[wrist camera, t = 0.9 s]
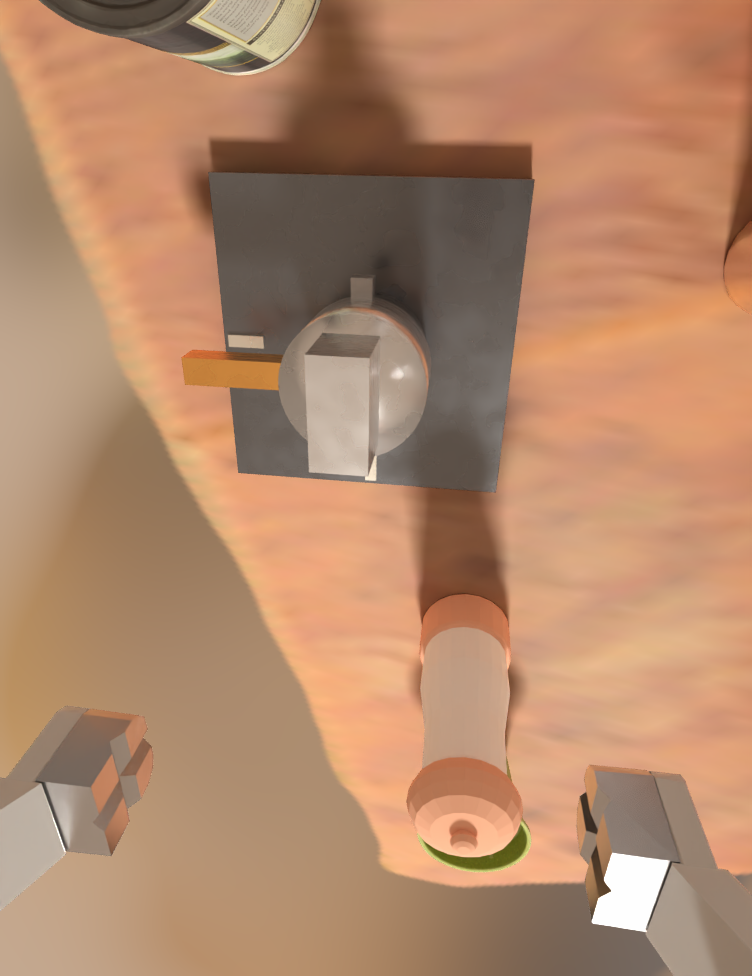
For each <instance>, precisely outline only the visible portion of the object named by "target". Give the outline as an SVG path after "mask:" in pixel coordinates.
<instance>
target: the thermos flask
mask: <svg viewBox="0 0 752 976" xmlns="http://www.w3.org/2000/svg"><path fill="white" fill-rule="evenodd" d="M724 282H725V285H726V289H727V292H728V295H729V296H730V297H731V299H732V300H733V302H734V303H735V305H737V306H738V307H740V308H741V309H742V310H744V311H745V312H747V313H748V314H750V315H752V220H751V221H750V222H749V223H748V224H747V225H746V226H745V227H744V228H743V229H742V231H741V232H740V233H739V234H738V235H737V236H736V238H735V240H734V242H733V244H732V245H731V247H730V249H729V251H728V254H727V258H726V262H725V265H724Z"/></svg>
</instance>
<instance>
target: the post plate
mask: <svg viewBox="0 0 752 976" xmlns="http://www.w3.org/2000/svg"><path fill="white" fill-rule="evenodd" d="M208 174H209V184H210V194H211V204H212V214H213V224H214V234H215V244H216V254H217V264H218V274H219V284H220V294H221V304H222V314H223V324H224V334H225V344H226V352H242V353H260V354H279V355H284V354H285V351H286V349H287V348H288V346H289V345H290V343H291V342H292V340H293V339H294V338H295V337H296V336H297V335H298V334H299V333H300V332H301V330H302V329H303V328H304V327H305V326H306V325H307V324H308V323H309V322H310V321H311V320H312V319H313V318H314V317H315V316H316V315H317V314H318V313H319V312H320V311H321V310H323V309H324V308H325V307H327V306H328V305H330V304H332V303H334V302H336V301H338V300H341V299H344V298H348V297H351V277H352V276H353V275H354V274H370V275H375V297H376V298H380V299H383V300H386V301H388V302H391V303H393V304H395V305H396V306H398V307H400V308H401V309H403V310H404V311H405V312H407V313H408V314H409V315H410V316H411V317H412V318H413V319H414V320H415V322H416V323H417V324H418V325H419V327H420V328H421V330H422V332H423V333H424V336H425V338H426V340H427V343H428V346H429V350H430V355H431V374H430V380H429V386H428V392H427V398H426V404H425V408H424V411H423V414H422V417H421V419H420V421H419V423H418V425H417V426H416V428H415V430H414V431H413V432H412V433H411V435H410V436H409V437H408V438H407V439H406V440H405V441H404V442H403V443H401V444H400V445H399V446H397V447H396V448H394V449H392V450H390V451H388V452H386V453H384V454H381V455H378V456H374V460H373V463H372V466H371V469H370V472H369V476H368V477H366V476H352V475H339V474H326V473H312V472H309V460H308V441H307V440H306V439H305V438H304V437H302V436H301V435H300V434H299V432H298V431H297V430H296V429H295V428H294V426H293V425H292V424H291V422H290V421H289V419H288V417H287V415H286V413H285V411H284V409H283V406H282V403H281V399H280V396H279V390H265V389H248V388H232V387H230V394H231V404H232V414H233V424H234V434H235V444H236V454H237V464H238V473H247V474H260V475H273V476H286V477H300V478H313V479H326V480H339V481H352V482H365V483H379V484H392V485H405V486H418V487H431V488H444V489H458V490H471V491H484V492H496V486H497V478H498V470H499V462H500V454H501V446H502V437H503V429H504V421H505V413H506V405H507V397H508V389H509V381H510V373H511V365H512V357H513V349H514V341H515V333H516V325H517V316H518V308H519V300H520V292H521V284H522V276H523V268H524V260H525V252H526V244H527V236H528V228H529V220H530V212H531V203H532V195H533V187H534V179H516V178H472V177H427V176H382V175H338V174H293V173H248V172H208Z"/></svg>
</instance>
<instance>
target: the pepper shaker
mask: <svg viewBox="0 0 752 976" xmlns="http://www.w3.org/2000/svg"><path fill="white" fill-rule="evenodd" d="M419 654H420V659H421V663H422V665H423V669H422V677H421V685H420V692H421V701H422V710H423V718H424V727H425V732H424V748H423V763H422V770H421V771H420V773H419V774H418V775H417V777H416V778H415V779H414V780H413V782H412V784H411V786H410V788H409V791H408V796H407V801H406V802H407V807H408V812H409V816H410V819H411V823H412V824H413V826H414V828H415V829H416V831H417V833H418V834H419V835H420V836H421V838H422V839H423V840H424V841H425V842H426V843H427V844H429V845H430V846H432V847H433V848H435V849H437V850H439V851H442V852H444V853H447V854H450V855H455V856H460V857H481V856H486V855H491V854H494V853H496V852H498V851H500V850H502V849H504V848H505V847H506V846H507V844H508V843H509V842H510V841H511V840H512V839H513V837H514V836H515V835H516V833H517V831H518V829H519V826H520V823H521V819H522V814H523V807H522V801H521V797H520V795H519V793H518V791H517V789H516V788H515V786H514V785H513V783H512V782H511V780H510V779H509V777H508V776H507V765H506V746H505V729H506V722H507V714H508V706H509V698H510V687H509V679H508V671H507V670H508V669H509V665H510V661H511V648H510V636H509V627H508V620H507V618H506V617H505V615H504V613H503V612H502V610H501V609H500V608H499V607H498V606H496V605H495V604H494V603H493V602H491V601H489V600H487V599H485V598H482V597H480V596H475V595H469V594H459V595H451V596H448V597H445V598H443V599H440V600H438V601H437V602H436V603H434V604H433V605H432V606H430V607H429V609H428V611H427V612H426V614H425V615H424V618H423V623H422V631H421V641H420V651H419Z"/></svg>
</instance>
